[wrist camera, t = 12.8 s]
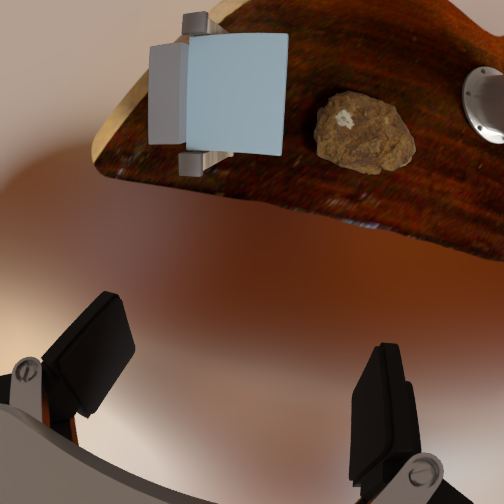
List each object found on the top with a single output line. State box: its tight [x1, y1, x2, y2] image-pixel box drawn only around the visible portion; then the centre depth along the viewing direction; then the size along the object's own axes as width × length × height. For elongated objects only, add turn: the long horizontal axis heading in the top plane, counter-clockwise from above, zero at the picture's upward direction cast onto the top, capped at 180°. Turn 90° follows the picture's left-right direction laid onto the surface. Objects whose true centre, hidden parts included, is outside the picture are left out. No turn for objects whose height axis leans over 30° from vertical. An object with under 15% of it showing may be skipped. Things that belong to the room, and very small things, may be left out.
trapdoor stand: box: [179, 11, 233, 177], centre depth 33 cm, size 3×20×13 cm, turn 178°
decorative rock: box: [314, 91, 416, 175], centre depth 36 cm, size 11×4×15 cm
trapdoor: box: [148, 33, 288, 156], centre depth 29 cm, size 15×14×5 cm
